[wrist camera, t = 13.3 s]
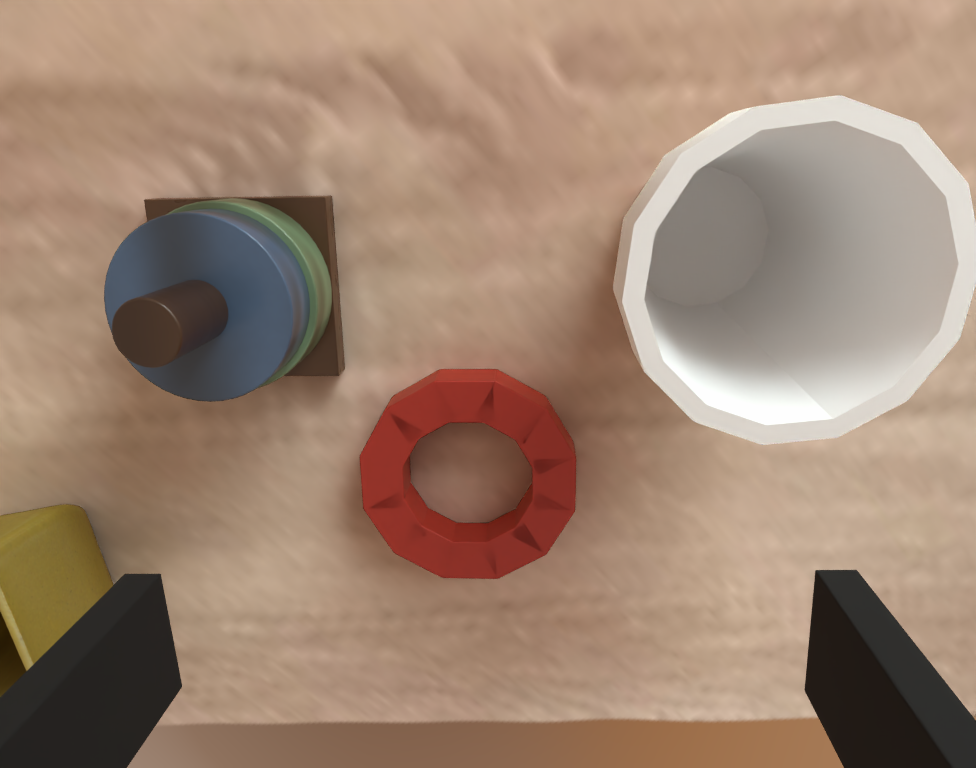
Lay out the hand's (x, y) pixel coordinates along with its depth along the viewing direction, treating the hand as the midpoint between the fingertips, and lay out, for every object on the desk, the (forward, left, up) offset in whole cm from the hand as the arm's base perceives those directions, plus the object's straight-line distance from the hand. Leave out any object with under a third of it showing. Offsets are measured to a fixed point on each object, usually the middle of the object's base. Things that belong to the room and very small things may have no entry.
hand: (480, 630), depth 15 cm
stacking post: (+12, -4, -21) cm, 24 cm away
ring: (+2, +5, -21) cm, 21 cm away
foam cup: (-8, -6, -21) cm, 23 cm away
